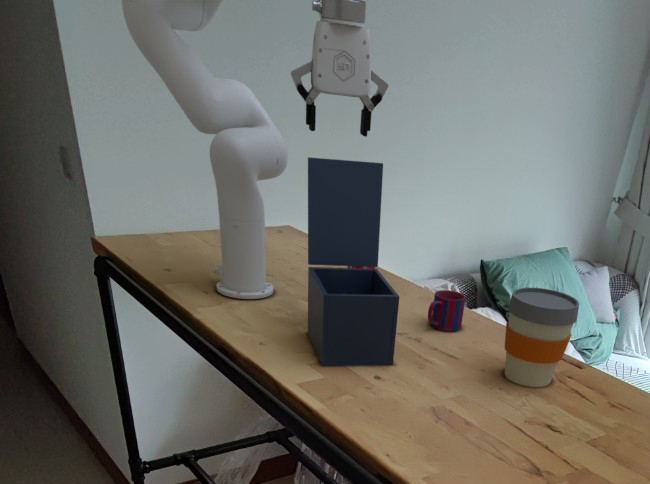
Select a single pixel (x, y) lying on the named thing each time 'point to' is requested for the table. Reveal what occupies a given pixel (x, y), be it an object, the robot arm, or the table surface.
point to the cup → (447, 310)
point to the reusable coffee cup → (537, 334)
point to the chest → (351, 316)
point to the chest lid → (344, 212)
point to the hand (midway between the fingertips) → (338, 132)
